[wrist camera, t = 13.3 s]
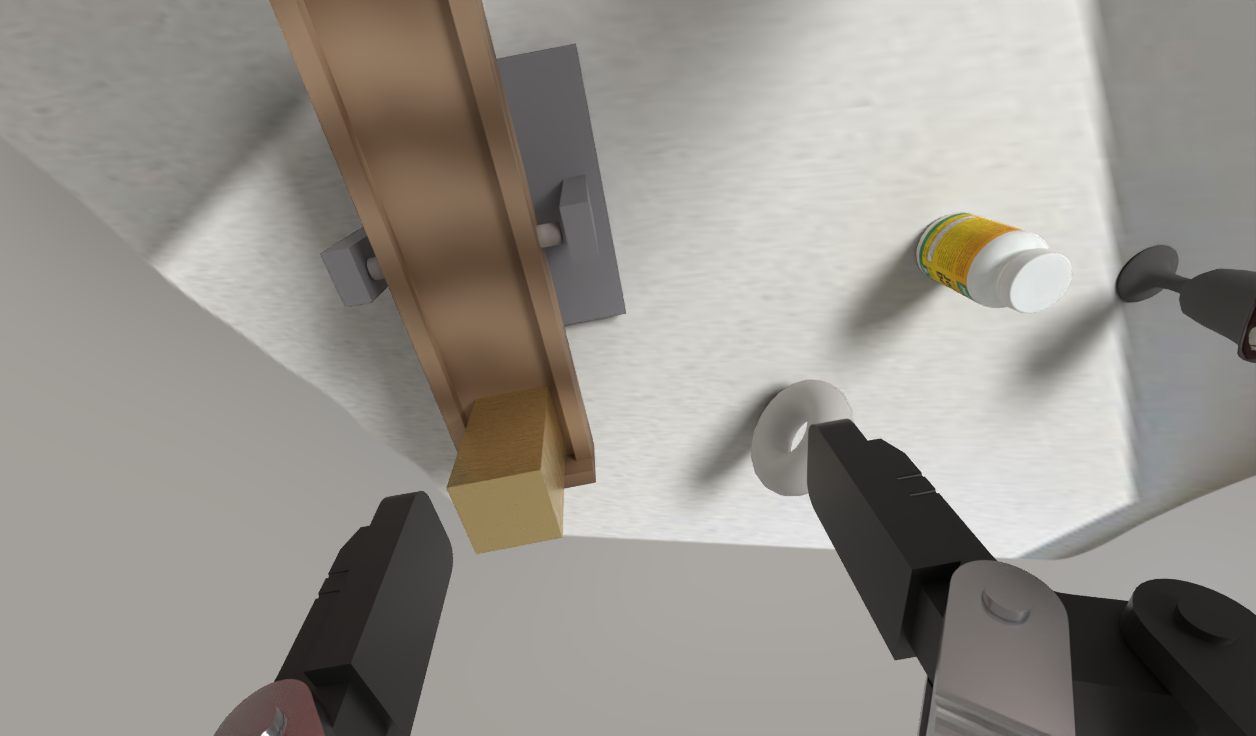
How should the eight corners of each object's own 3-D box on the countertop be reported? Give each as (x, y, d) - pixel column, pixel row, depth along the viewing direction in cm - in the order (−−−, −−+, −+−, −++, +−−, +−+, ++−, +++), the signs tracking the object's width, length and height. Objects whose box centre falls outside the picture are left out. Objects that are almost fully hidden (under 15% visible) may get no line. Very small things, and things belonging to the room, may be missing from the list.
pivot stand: (326, 93, 33) (221, 94, 23) (575, 45, 33) (575, 24, 23) (427, 346, 41) (381, 423, 32) (624, 307, 41) (639, 373, 31)
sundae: (1180, 295, 45) (1429, 379, 32) (1102, 320, 46) (1316, 412, 32) (1195, 222, 42) (1478, 282, 29) (1111, 250, 43) (1352, 321, 29)
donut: (799, 352, 44) (853, 416, 36) (828, 369, 46) (888, 435, 37) (730, 437, 48) (764, 514, 39) (759, 450, 49) (798, 528, 40)
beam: (237, -77, 22) (172, -109, 18) (479, -125, 22) (460, -167, 18) (464, 469, 36) (452, 510, 33) (610, 441, 36) (614, 478, 33)
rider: (475, 398, 31) (446, 488, 24) (548, 384, 31) (540, 470, 24) (497, 456, 33) (476, 554, 26) (565, 443, 33) (562, 537, 26)
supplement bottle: (993, 223, 41) (1103, 257, 32) (953, 285, 43) (1046, 333, 34) (938, 201, 39) (1037, 230, 31) (900, 266, 42) (982, 311, 33)
